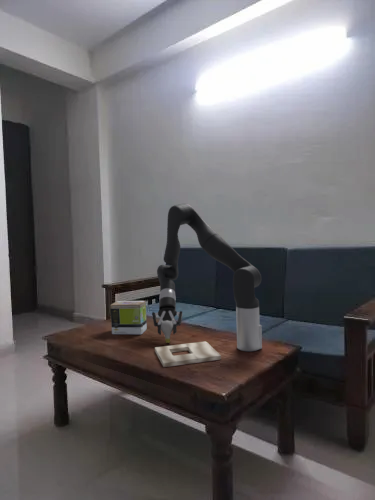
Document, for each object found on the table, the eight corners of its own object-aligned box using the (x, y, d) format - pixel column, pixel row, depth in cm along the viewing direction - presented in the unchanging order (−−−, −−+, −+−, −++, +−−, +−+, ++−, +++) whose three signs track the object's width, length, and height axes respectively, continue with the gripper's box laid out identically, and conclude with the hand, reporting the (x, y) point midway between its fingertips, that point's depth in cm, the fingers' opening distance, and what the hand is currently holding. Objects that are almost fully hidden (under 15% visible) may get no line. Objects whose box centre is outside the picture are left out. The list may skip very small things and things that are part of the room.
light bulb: (164, 340, 159) (163, 318, 159) (175, 341, 158) (174, 319, 157) (159, 344, 154) (158, 322, 154) (171, 345, 153) (170, 322, 152)
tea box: (147, 329, 179) (146, 300, 178) (141, 335, 169) (139, 304, 168) (118, 328, 182) (117, 300, 181) (111, 334, 172) (109, 304, 171)
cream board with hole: (206, 344, 152) (205, 341, 152) (220, 359, 135) (220, 355, 135) (155, 351, 146) (154, 347, 146) (163, 367, 129) (163, 363, 129)
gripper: (151, 296, 162) (149, 330, 151) (182, 295, 162) (183, 328, 151) (152, 305, 168) (151, 338, 157) (183, 304, 168) (184, 337, 157)
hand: (167, 333), depth 154 cm, fingers closed on light bulb, 5 cm apart
